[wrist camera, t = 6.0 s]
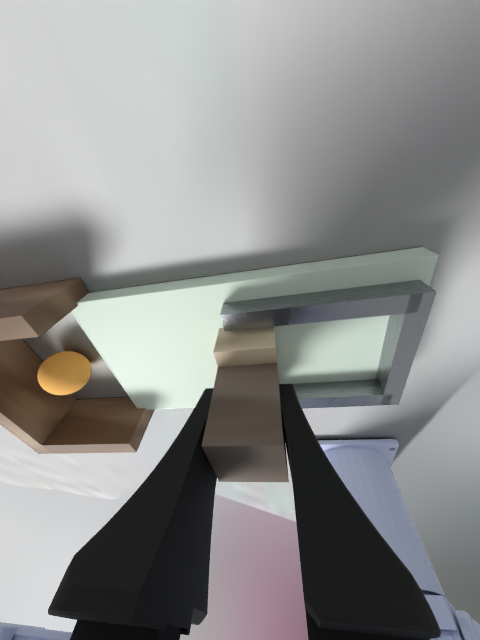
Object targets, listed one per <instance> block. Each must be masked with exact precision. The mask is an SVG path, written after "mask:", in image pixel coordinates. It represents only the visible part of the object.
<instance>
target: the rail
mask: <svg viewBox="0 0 480 640" xmlns="http://www.w3.org/2000/svg"><path fill="white" fill-rule="evenodd" d="M435 294H436V291H435V290H433V289H432V288H431V287H429V286H428V285H427V284H425V283H424V282H423V281H421V280H413V281H404V282H396V283H387V284H379V285H370V286H362V287H353V288H345V289H336V290H328V291H319V292H311V293H302V294H294V295H285V296H277V297H268V298H260V299H251V300H243V301H234V302H226V303H223V305H222V309H221V313H220V317H221V321H222V325H223V328H224V331H233V330H243V329H253V328H263V327H274V326H284V325H294V324H305V323H315V322H325V321H335V320H346V319H356V318H366V317H376V316H387V315H390V316H389V320H388V325H387V329H386V334H385V338H384V343H383V347H382V352H381V356H380V361H379V365H378V370H377V374H376V379H369V380H352V381H334V382H317V383H300V384H293V385H294V388H295V392H296V395H297V398H298V401H299V403H300V406H301V408H324V407H348V406H372V405H397V404H399V402H400V399H401V396H402V393H403V390H404V387H405V384H406V381H407V378H408V375H409V372H410V369H411V366H412V363H413V360H414V357H415V354H416V351H417V348H418V345H419V342H420V339H421V336H422V333H423V330H424V327H425V324H426V321H427V318H428V315H429V312H430V309H431V306H432V303H433V300H434V297H435Z"/></svg>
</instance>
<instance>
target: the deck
mask: <svg viewBox="0 0 480 640" xmlns="http://www.w3.org/2000/svg"><path fill="white" fill-rule="evenodd" d="M438 258H439V255H438V254H436V253H434V252H432V251H430V250H428V249H426V248H425V247H419V248H411V249H404V250H397V251H390V252H382V253H375V254H368V255H360V256H353V257H346V258H339V259H331V260H324V261H317V262H310V263H302V264H295V265H288V266H281V267H273V268H266V269H259V270H251V271H244V272H237V273H230V274H222V275H215V276H208V277H201V278H193V279H186V280H179V281H172V282H164V283H157V284H150V285H142V286H135V287H128V288H121V289H113V290H106V291H99V292H92V293H88V294H87V295H86V296H84V297H83V298H82V299H80V300H79V301H78V302H77V303H76V304H77V305H78V306H77V307H76V308H75V309H73V310H72V311H71V313H72V315H73V316H74V318H75V319H76V321H77V322H78V323H79V325H80V326H81V328H82V329H83V331H84V332H85V334H86V335H87V336H88V338H89V339H90V341H91V342H92V344H93V345H94V347H95V348H96V349H97V351H98V352H99V354H100V355H101V357H102V358H103V360H104V361H105V362H106V364H107V365H108V367H109V368H110V370H111V371H112V373H113V374H114V375H115V377H116V378H117V380H118V381H119V383H120V384H121V386H122V387H123V388H124V390H125V391H126V393H127V394H128V396H129V397H130V399H131V400H132V402H133V403H134V404H135V406H136V407H137V409H141V408H146V410H153V409H176V408H195V406H196V405H197V403H198V401H199V399H200V397H201V395H202V393H203V391H204V390H205V389H206V388H214V383H215V379H216V374H217V369H218V366H217V363H216V359H215V356H214V353H213V351H214V347H215V343H216V339H217V335H218V331H219V328H223V325H222V321H221V317H220V313H221V309H222V305H223V303H226V302H234V301H243V300H251V299H260V298H268V297H277V296H285V295H294V294H302V293H311V292H319V291H328V290H336V289H345V288H353V287H362V286H370V285H379V284H387V283H396V282H404V281H413V280H421V281H423V282H424V283H425V284H427V285H428V286H429V287H430V283H431V280H432V277H433V274H434V271H435V267H436V264H437V261H438ZM389 316H390V315H387V316H376V317H366V318H356V319H346V320H335V321H325V322H315V323H305V324H294V325H284V326H274V334H275V343H276V351H277V360H278V369H279V377H280V384H300V383H317V382H334V381H352V380H369V379H376V374H377V370H378V365H379V361H380V356H381V352H382V347H383V343H384V338H385V334H386V329H387V325H388V320H389Z"/></svg>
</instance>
